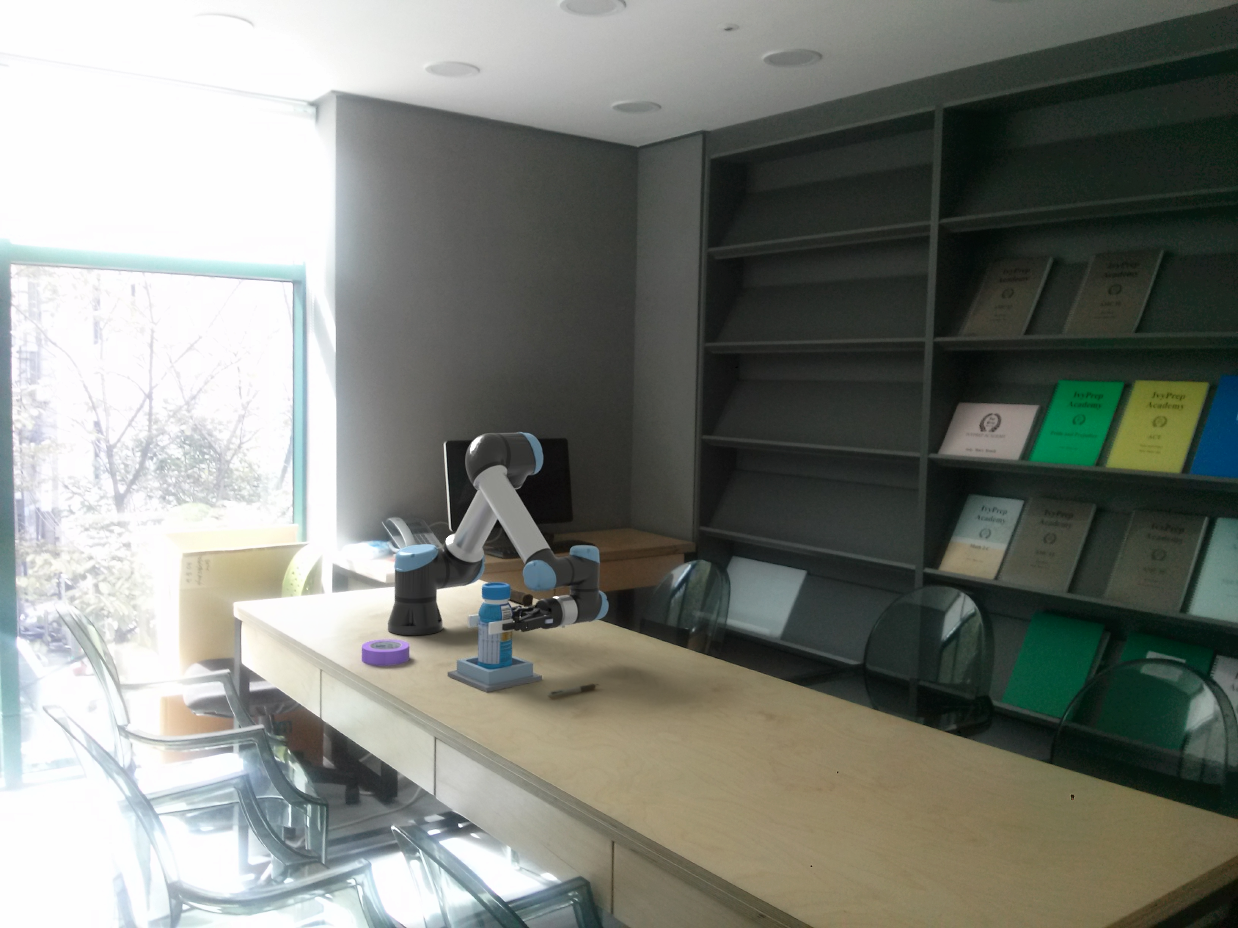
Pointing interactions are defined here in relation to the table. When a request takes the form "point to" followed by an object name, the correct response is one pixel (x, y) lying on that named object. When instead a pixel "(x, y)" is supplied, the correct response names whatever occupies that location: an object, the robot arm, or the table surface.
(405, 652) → the masking tape
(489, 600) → the beverage bottle
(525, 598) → the hand tool
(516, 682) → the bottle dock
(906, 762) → the table surface
